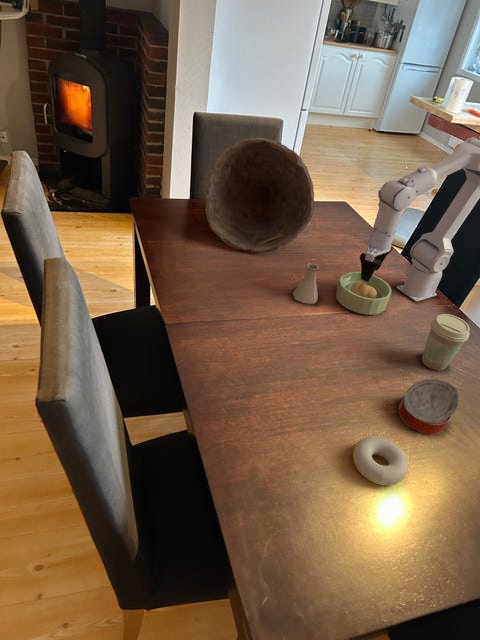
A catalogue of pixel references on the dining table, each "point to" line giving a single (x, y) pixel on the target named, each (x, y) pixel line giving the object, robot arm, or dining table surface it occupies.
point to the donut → (376, 471)
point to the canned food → (428, 405)
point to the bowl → (259, 195)
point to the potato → (364, 290)
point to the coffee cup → (444, 340)
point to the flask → (308, 286)
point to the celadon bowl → (359, 302)
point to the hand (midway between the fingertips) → (369, 274)
